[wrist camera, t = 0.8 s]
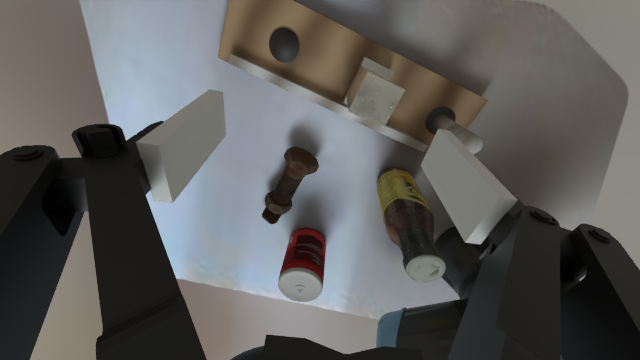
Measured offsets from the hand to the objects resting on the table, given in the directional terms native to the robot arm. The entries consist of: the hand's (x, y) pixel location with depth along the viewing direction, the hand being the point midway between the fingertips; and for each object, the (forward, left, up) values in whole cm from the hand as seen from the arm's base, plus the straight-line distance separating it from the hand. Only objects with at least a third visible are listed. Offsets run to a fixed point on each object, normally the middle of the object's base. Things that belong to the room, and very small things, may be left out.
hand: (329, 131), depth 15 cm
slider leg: (-4, -2, -21) cm, 21 cm away
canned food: (-8, +30, -24) cm, 39 cm away
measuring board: (-2, -2, -23) cm, 23 cm away
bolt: (+1, +19, -24) cm, 31 cm away
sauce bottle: (-16, +10, -24) cm, 30 cm away
